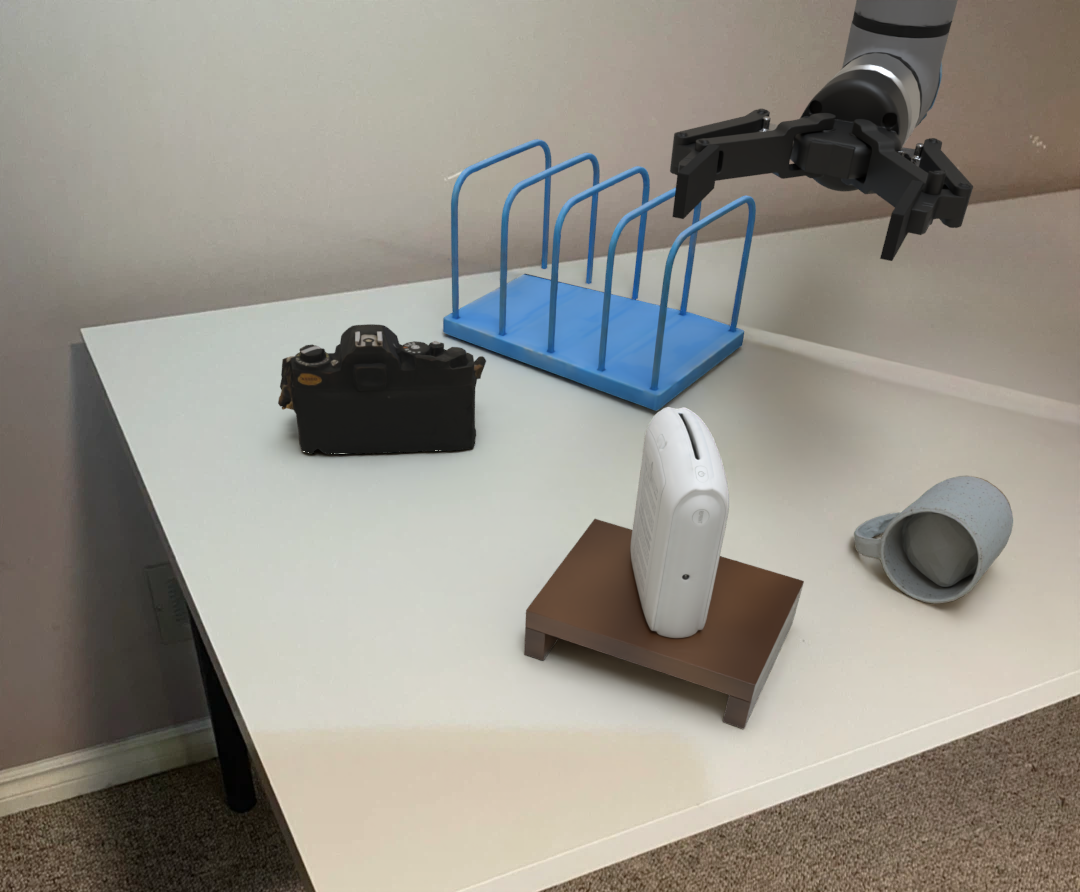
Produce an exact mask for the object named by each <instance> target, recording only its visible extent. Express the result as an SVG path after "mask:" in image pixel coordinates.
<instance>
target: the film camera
mask: <svg viewBox="0 0 1080 892" xmlns="http://www.w3.org/2000/svg"><path fill="white" fill-rule="evenodd" d="M486 363H487V359H486V358H485V357H484V356H483V355H481V356H478V357H477V358H476V359H474V354H472V353H470V352H467V351H466V349H464V348H463V347H458V346H451V347H449V348H448V349H447V348H446V349H445V343H444V342H440V341H437V340H434V341H432V342H429V343H426V342H424V341H413V340H412V341H409V342H406V343H403V344H401V343H400V341H399V338H398V335H397V334H396V333H395V332H394V331H393V330H391V329H390V327H388V326H387V325H383V324H375V323H374V324H371V323H370V324H355V325H351V326H349V327H348V328H347V329H346V330H344V332H342V333H341V336H340V341H339V344H338V345H336V346H335V349H334V352H326V349H325V348H323V347H321V346H319V345H315V344H305V345H304V346H302V347H301V348H299V352H297V353H296V354H295V355H291V356H286V357H285V358H282V360H281V371H280V372H281V373H280V376H281V379H280V385H279V388H280V394H279V396H278V401H277V404H278V406H279V407H281V410H283V411H284V410H286V409H287V410H291V411H293V412H294V413H295V417H296V425H297V432H298V444H299V447H300V450H301V449H302V450H301V452H302V451H305V452H309V453H314V452H315V451H316V450H319V451H320V452H321V453H323V454H325V455H327V454H331V453H332V454H334V453H356V454H355V455H363V454H362V453H365V454H367V453H369V454H371V453H372V454H374V453H377V454H384V453H383V452H387V453H386V454H389V453H388V452H400V453H403V452H404V453H405V452H406V453H419V452H418V451H422V452H425V451H435V450H438V451H439V450H443V451H442V452H453V451H452V450H456V451H464V449H465V450H470V449H469V448H471V449H474V448H475V445H474V444H476V443H475V442H476V438H477V429H476V418H475V417H476V387H477V382H478V380H479V379H480V380H481V379H482V374H483V371H484V368H485V365H486ZM461 449H462V450H461ZM446 450H447V451H446ZM439 452H440V451H439ZM358 453H360V454H358ZM334 455H335V454H334Z"/></svg>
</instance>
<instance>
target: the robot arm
mask: <svg viewBox="0 0 1080 892" xmlns="http://www.w3.org/2000/svg"><path fill="white" fill-rule="evenodd" d="M958 1H959V0H856V1H855V6H854V12H853V16H852V20H851V23H850V28H849V32H848V38H847V43H846V47H845V52H844V57H843V63H842V66H841V69H840V70H839V71H838V72H836V74H835V75H833V76H832V77H831V78H830V79H829V80H828V81H827V82H826V83H825V85H824V86H823V87H822V88H821V89H820V90H819V91H818V92H817V93H816V94H815V95H814V96H813V97H812V98H811V100H810V101H809V102H808V104H807V105H806V107H805V108H804V109H803V110H804V111H803V112H802V113H801V116H800V117H799V118H797V119H791V120H784V121H780V122H779V123H778V124H775V123H771V117H770V115H771V112H770V111H769V110H768V109H765V108H757V109H754V110H752V111H750V112H749V113H747V114H746V115H743V116H739V117H735V118H734V117H733V118H730V119H727V120H722V121H718V122H714V123H709V124H706V125H701V126H696V127H693V128H688V129H684V130H681V131H677V132H674V134H673V141H672V149H671V158H670V165H669V166H670V169H669V172H670V173H671V174H672V175H675V176H676V182H675V187H676V191H675V196H674V199H673V209H672V218H676V219H680V220H685V218H686V217H687V216H688V215H690V213H691V212H692V211H694V208H695V207H696V206H697V205H698V204H699V203H700V202H701V201H703V200H704V199H705V198H706V197H707V196H708V195H709V194H710V193H711V192H712V191H713V190H714V189H715V185H716V181H717V182H719V181H724V180H725V181H726V180H731V179H739V178H745V177H746V178H747V177H753V176H761V175H767V174H772V175H774V176H776V177H778V178H780V179H783V180H784V179H792V178H799V177H807V178H809V179H812V180H814V181H815V182H816V183H818V184H819V185H821V186H822V187H824V188H826V189H829V190H832V191H836V192H854V191H859V192H861V193H862V194H864V195H877V196H878V197H880V198H881V199H883V200H884V201H885V202H887V203H888V204H889V205H890V206H892V207H893V208H894V209H892V212H891V214H890V217H889V223H888V225H887V229H886V234H885V238H884V242H883V245H882V248H881V249H882V250H881V253H880V257H879V259H880V260H884V261H890V262H893V260H894V259H895V258H896V255H897V254H898V252H899V250H900V248H901V246H902V244H903V243H904V241H905V239H906V237H907V235H908V234H912V235H917V236H918V235H919V236H922V235H924V234H926V233H927V231H928V229H929V227H930V226H931V225H933V222H934V220H938V219H939V220H940V223H942V224H943V225H944V226H945V227H948V228H951V229H958V228H961V227H962V226H963V221H964V219H965V216H966V212H967V209H968V205H969V203H970V199H971V196H972V193H973V189H974V185H973V184H972V183H971V182H970V181H969V180H968V178H967V177H966V176H965V175H964V174H963V173H962V172H961V170H960V169H959V168H958V167H957V166H956V165H955V164H954V162H952V160H951V159H950V158H949V157H948V156H947V155H946V153H944V151H943V150H942V146H943V142H942V140H940V139H938V138H935V137H930V138H926V139H924V142H918V143H916V145H915V148H911V147H904V146H905V145H906V143H907V142H908V140H909V139H910V137H911V136H912V134H913V133H914V130H915V129H916V128H917V127H918V126H919V125H921V123H922V122H923V120H925V119H926V117H928V116H927V115H928V112H929V111H930V110H931V109H932V108H933V107H934V104H935V102H936V100H937V96H938V93H939V90H940V87H941V84H942V83H941V82H942V78H943V57H944V53H945V51H946V46H947V42H948V39H949V34H950V30H951V27H952V23H953V19H954V16H955V12H956V8H957V4H958ZM790 161H791V162H792V163H790ZM701 203H702V202H701Z"/></svg>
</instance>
